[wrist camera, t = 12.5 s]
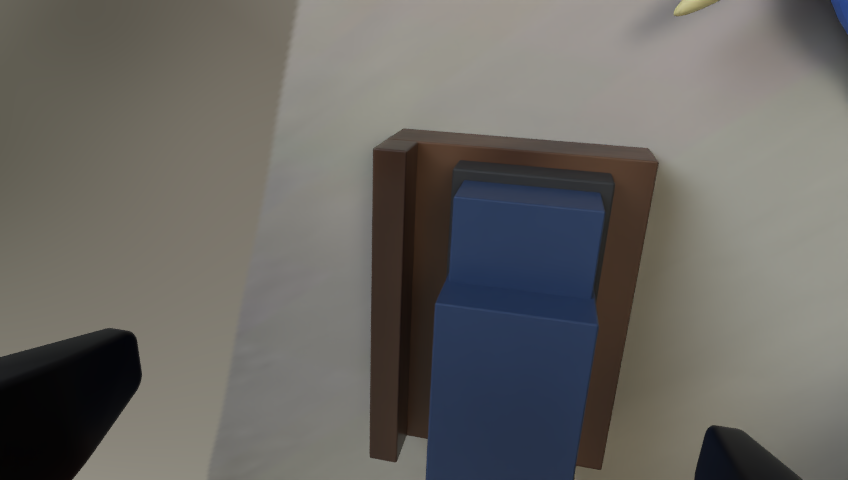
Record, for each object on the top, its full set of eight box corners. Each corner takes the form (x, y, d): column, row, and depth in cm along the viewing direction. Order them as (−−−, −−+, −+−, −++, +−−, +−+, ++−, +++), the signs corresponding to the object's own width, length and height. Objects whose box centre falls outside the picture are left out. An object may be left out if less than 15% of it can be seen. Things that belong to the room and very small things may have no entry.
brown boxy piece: (649, 147, 18) (668, 173, 15) (597, 434, 22) (604, 502, 19) (402, 128, 20) (372, 148, 17) (394, 399, 24) (369, 458, 20)
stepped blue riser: (568, 451, 20) (570, 556, 16) (441, 429, 21) (414, 524, 17) (612, 172, 17) (629, 218, 13) (459, 159, 18) (429, 198, 14)
